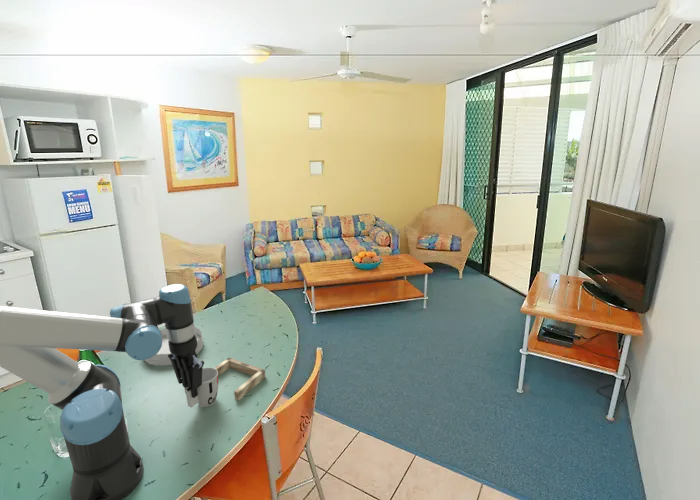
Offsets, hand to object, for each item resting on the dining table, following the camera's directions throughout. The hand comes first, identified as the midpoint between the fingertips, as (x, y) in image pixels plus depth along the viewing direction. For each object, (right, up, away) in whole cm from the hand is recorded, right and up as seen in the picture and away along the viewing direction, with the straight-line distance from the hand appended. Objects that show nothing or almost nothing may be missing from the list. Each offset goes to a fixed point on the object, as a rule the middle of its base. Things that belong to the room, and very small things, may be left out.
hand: (193, 404), depth 114 cm
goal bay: (+7, +1, +15) cm, 17 cm away
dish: (-23, +7, +35) cm, 42 cm away
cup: (+2, -2, +6) cm, 6 cm away
